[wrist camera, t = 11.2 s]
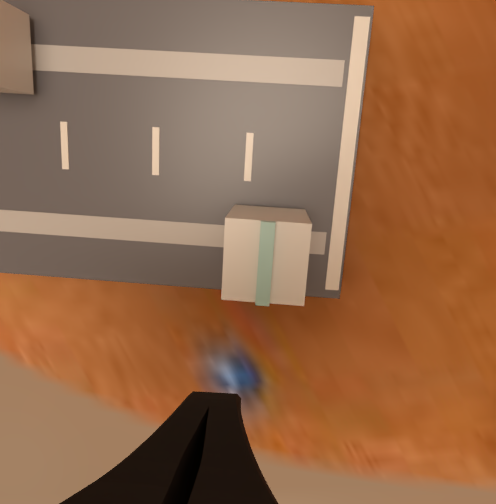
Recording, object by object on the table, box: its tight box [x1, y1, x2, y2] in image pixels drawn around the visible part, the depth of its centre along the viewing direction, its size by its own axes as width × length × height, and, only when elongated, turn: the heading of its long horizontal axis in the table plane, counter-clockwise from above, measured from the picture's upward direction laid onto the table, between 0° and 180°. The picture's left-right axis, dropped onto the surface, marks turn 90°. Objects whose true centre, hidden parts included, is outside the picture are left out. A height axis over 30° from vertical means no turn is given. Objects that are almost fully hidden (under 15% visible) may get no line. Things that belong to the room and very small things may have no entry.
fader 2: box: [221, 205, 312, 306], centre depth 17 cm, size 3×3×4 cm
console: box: [0, 0, 374, 299], centre depth 19 cm, size 17×12×2 cm
